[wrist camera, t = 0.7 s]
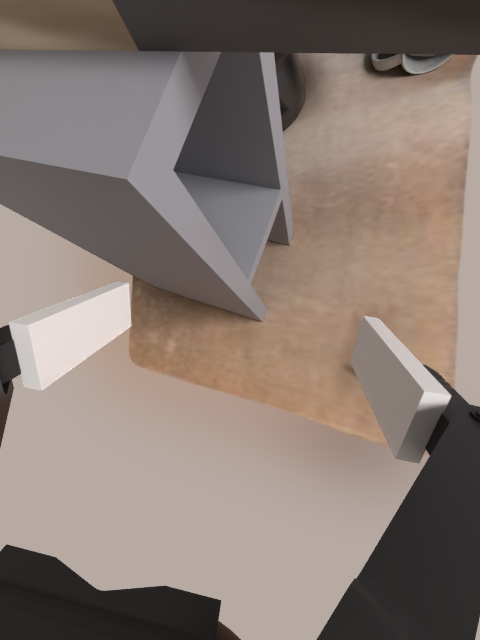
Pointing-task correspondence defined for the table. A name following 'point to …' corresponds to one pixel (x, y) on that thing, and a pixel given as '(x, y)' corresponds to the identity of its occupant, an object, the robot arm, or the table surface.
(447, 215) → the table surface
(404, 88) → the table surface
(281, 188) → the shelf
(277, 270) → the table surface
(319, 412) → the table surface
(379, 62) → the ceramic mug
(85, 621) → the robot arm
